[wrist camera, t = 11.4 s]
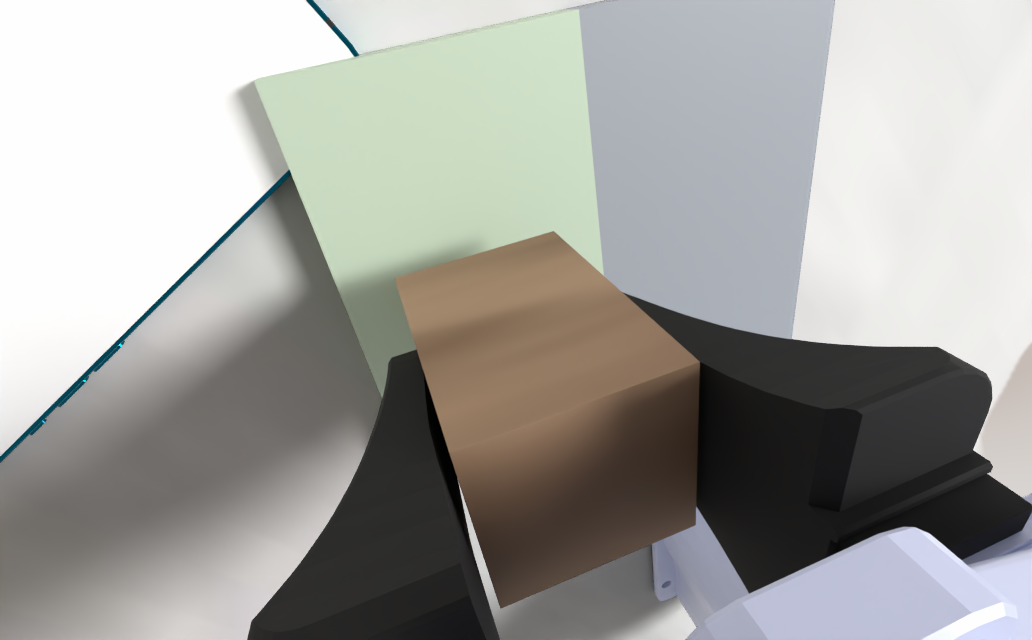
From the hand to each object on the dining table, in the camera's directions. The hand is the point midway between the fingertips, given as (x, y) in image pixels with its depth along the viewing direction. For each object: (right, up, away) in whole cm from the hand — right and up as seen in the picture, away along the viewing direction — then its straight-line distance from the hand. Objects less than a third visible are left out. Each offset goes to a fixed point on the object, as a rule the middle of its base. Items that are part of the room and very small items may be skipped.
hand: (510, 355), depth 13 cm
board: (+2, +3, +4) cm, 6 cm away
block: (0, +1, +1) cm, 2 cm away
